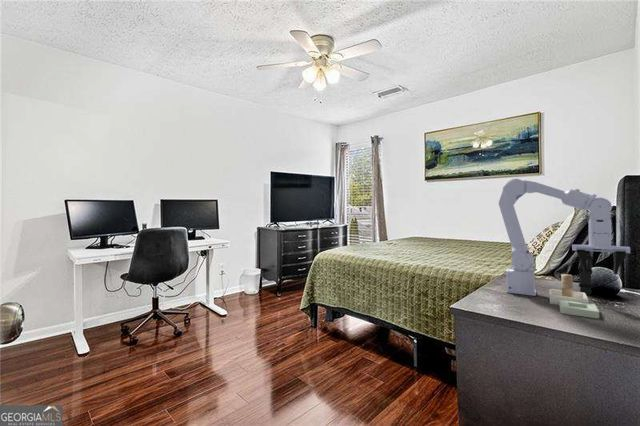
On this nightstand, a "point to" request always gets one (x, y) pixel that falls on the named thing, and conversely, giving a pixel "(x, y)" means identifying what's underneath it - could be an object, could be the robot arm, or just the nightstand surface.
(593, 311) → the holder
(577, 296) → the tray
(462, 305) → the nightstand surface
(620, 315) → the nightstand surface
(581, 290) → the magazine
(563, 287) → the dowel
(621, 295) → the nightstand surface
